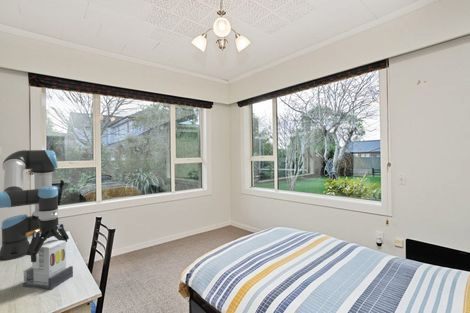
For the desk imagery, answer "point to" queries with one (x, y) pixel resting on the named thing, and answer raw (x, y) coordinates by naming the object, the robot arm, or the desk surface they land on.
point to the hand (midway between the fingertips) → (49, 261)
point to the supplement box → (50, 260)
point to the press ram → (30, 271)
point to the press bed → (51, 280)
